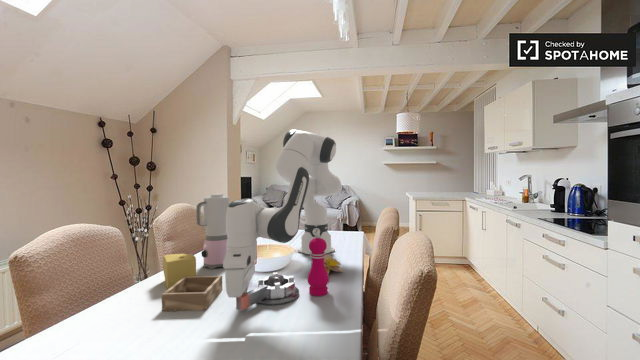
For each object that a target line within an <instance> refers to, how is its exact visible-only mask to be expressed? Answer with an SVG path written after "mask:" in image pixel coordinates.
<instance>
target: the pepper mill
mask: <svg viewBox="0 0 640 360" xmlns="http://www.w3.org/2000/svg"><path fill="white" fill-rule="evenodd" d="M326 248H327V244H326V241H325V240H324V239H322V238H320V234H318V233H317V234H316V235H315V238H314V239H312V240H311V241H310V243H309V249H310V250H311V255H310V258H311V261H312V262H311V268H310V270H309V273H308V275H307V283H308V285H309V287H308V292H309V294H310V295H311V296H312V297H322V296H325V295H327V294H328V293H329V289H328V288H329V287H328V284H329V281H330V278H329V277H330V276H329V274H328V273H327V271H326V269H325V266H324V257H325V255H326V254H325V252H324V251H325V250H326Z"/></svg>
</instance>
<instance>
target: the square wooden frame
mask: <svg viewBox="0 0 640 360" xmlns="http://www.w3.org/2000/svg"><path fill="white" fill-rule="evenodd" d="M222 291H223V275H200V276H198V275H196V276H193V277H183V278H182V279H181V280H180V281H178V282H177V283H176V284H174V285H173V286H172V287H171V288H169V289H167V290H165V291H164V292H162V293H161V311H162V312H179V311H180V312H185V311H207V310H208V309H209V308H210V307H211V305H212V304H213V303H214V302H215V300H216V299H217V297H218V296H219V295H220V294H221V293H222Z"/></svg>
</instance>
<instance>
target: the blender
mask: <svg viewBox="0 0 640 360" xmlns="http://www.w3.org/2000/svg"><path fill="white" fill-rule="evenodd" d="M230 203H231V197H230V196H224V194H223V193H212V194H210V196H206V197H204V198H203V201H200V202H199V203H197V205H196V208H195V209H196V224H197V226H199V227H204V229H205V235H206V236H205V240H204V242H203V244H202V245H203V247H202V249H203V250H201V257H202V258H203V266H204V267H206V268H209V270H216V268H222V267H223V261H224V259H225V256H226V243H227V238H228V237H227V233H226V211H227V207H228V205H229V204H230ZM202 207H203V221H202V211H201V208H202Z"/></svg>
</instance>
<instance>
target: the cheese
mask: <svg viewBox="0 0 640 360" xmlns="http://www.w3.org/2000/svg"><path fill="white" fill-rule="evenodd" d="M162 270H163V275H164V282H165V286H166V289H167V290H168V289H169V288H171V287H172V286H173V285H174V284H176V283H177V282H178V281H180V280H181V279H182V278H183V277H193V276H197V258H196V256H195V255H194V254H193V253H189V254H186V253H174V254H172V253H171V254H165V255H163V256H162Z"/></svg>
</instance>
